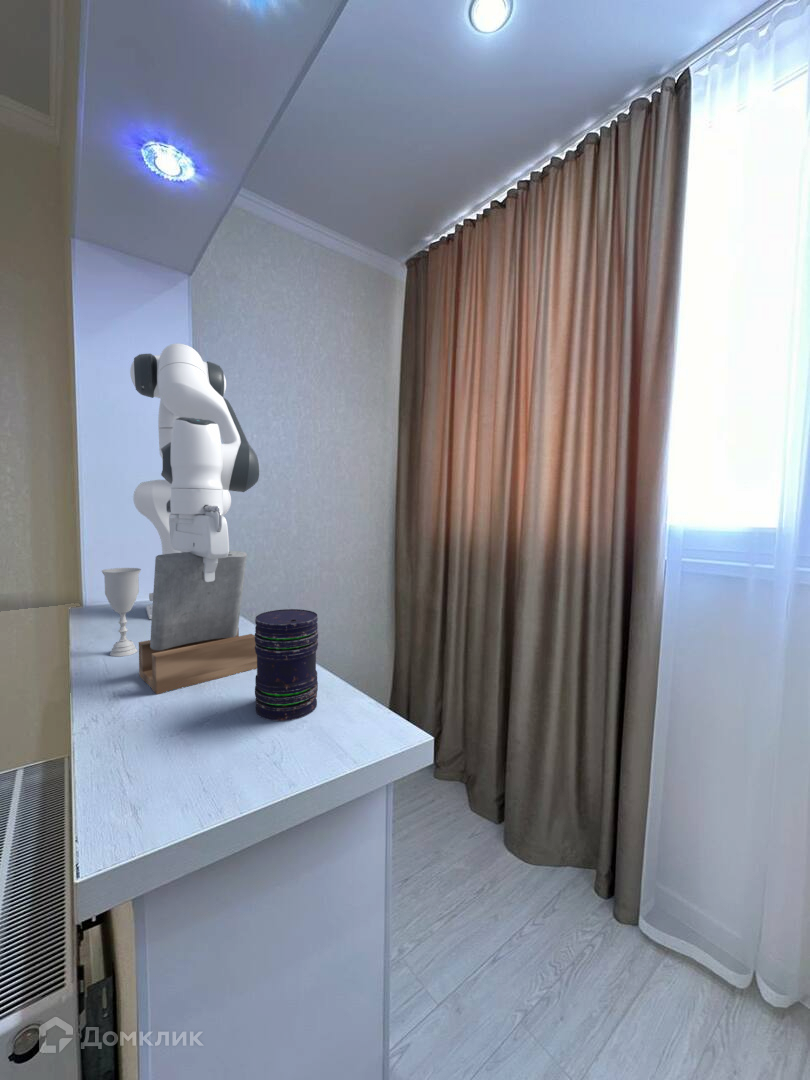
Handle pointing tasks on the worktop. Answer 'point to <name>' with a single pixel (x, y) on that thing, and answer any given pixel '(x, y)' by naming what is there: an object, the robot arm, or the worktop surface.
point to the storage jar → (286, 664)
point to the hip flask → (195, 599)
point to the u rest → (196, 662)
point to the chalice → (122, 602)
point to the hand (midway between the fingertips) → (198, 577)
